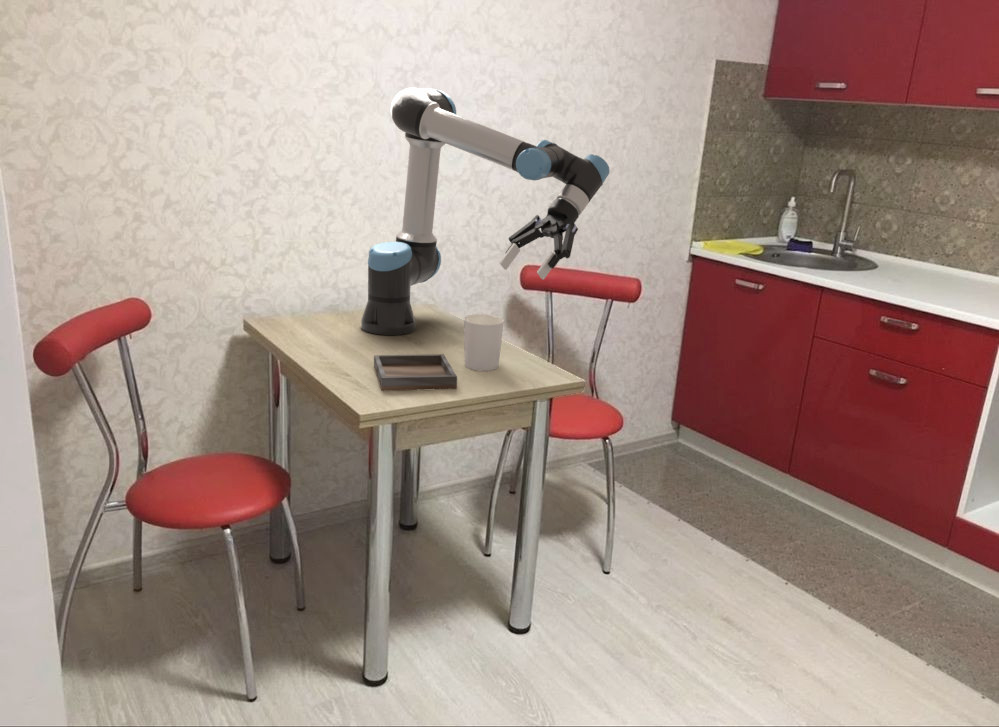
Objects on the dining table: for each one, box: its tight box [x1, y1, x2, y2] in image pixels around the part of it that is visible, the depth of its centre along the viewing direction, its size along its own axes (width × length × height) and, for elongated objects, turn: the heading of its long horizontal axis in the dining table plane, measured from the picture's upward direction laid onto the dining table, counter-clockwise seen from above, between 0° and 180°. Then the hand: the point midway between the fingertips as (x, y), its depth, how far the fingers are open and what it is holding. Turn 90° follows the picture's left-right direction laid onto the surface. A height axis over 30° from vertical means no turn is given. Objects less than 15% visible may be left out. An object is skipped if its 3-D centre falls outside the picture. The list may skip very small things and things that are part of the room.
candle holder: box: [463, 313, 505, 372], centre depth 211 cm, size 10×10×12 cm
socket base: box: [373, 353, 458, 392], centre depth 200 cm, size 17×17×3 cm
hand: (520, 271), depth 212 cm, fingers open, 13 cm apart
